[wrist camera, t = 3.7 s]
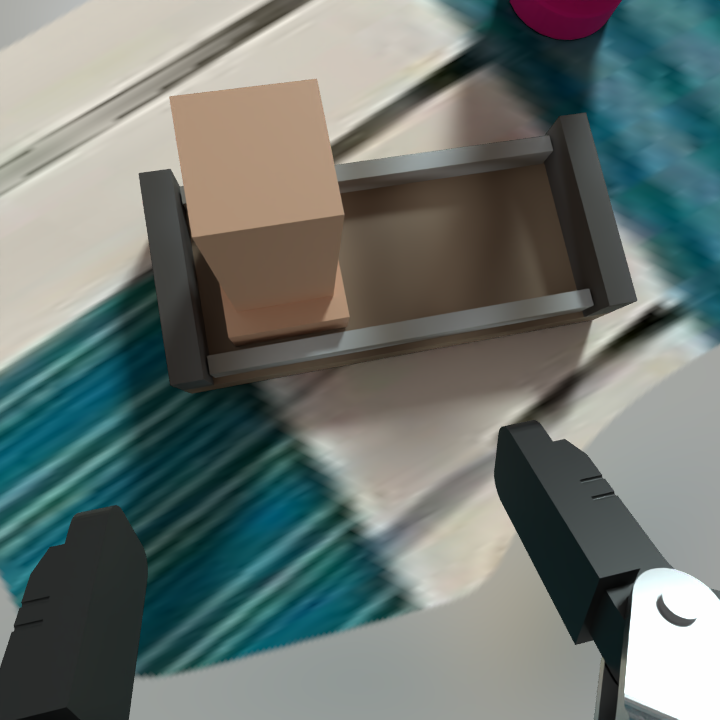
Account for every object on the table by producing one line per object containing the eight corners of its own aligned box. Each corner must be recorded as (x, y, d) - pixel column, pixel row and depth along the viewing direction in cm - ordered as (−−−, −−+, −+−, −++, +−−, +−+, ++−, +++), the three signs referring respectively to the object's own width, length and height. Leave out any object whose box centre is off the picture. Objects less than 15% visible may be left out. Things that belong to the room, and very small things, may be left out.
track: (550, 155, 28) (585, 112, 24) (592, 319, 27) (637, 300, 23) (163, 211, 25) (138, 173, 22) (191, 393, 24) (170, 385, 21)
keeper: (322, 203, 25) (328, 44, 15) (346, 326, 24) (370, 247, 14) (214, 219, 24) (144, 65, 14) (235, 346, 23) (177, 277, 13)
